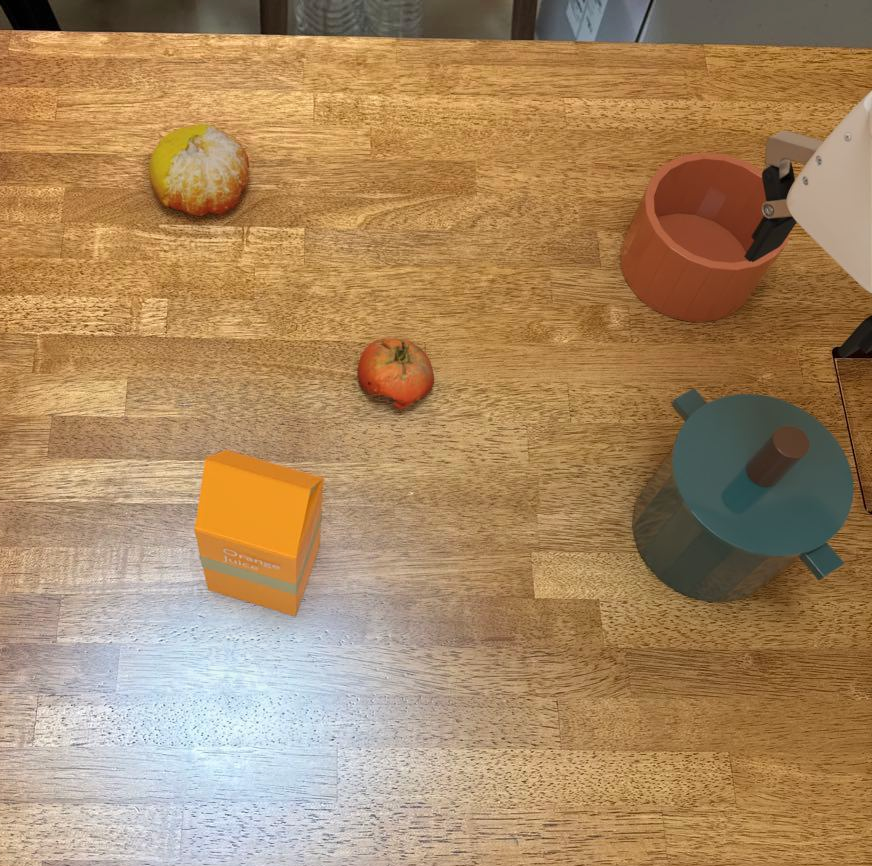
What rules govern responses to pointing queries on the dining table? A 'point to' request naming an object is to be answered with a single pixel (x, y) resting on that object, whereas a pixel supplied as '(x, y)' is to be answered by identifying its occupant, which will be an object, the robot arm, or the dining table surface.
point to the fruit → (199, 170)
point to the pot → (703, 541)
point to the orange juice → (258, 529)
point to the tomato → (396, 371)
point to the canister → (697, 238)
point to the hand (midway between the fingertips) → (807, 298)
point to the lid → (762, 475)
